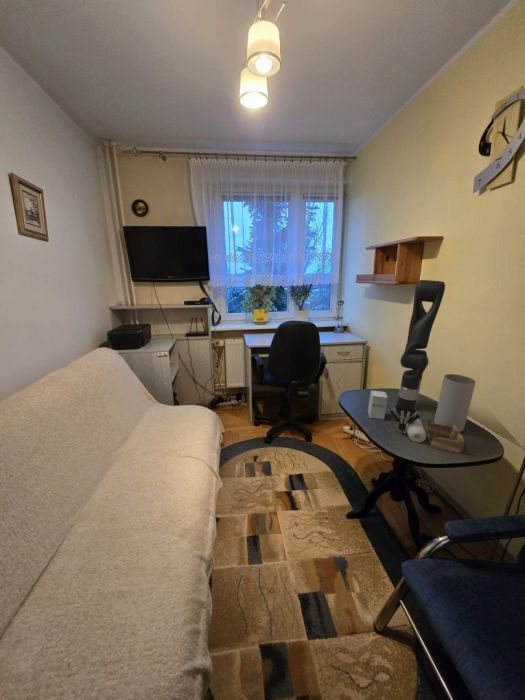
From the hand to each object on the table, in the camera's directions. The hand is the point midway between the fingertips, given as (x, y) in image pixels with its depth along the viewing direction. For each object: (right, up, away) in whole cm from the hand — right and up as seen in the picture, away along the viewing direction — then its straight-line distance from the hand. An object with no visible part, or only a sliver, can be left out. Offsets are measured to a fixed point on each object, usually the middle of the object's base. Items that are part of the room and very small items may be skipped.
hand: (401, 429), depth 133 cm
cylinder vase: (+28, -1, +9) cm, 29 cm away
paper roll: (+5, +1, -2) cm, 6 cm away
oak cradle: (+16, -4, -5) cm, 18 cm away
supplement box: (-5, +3, +17) cm, 18 cm away
